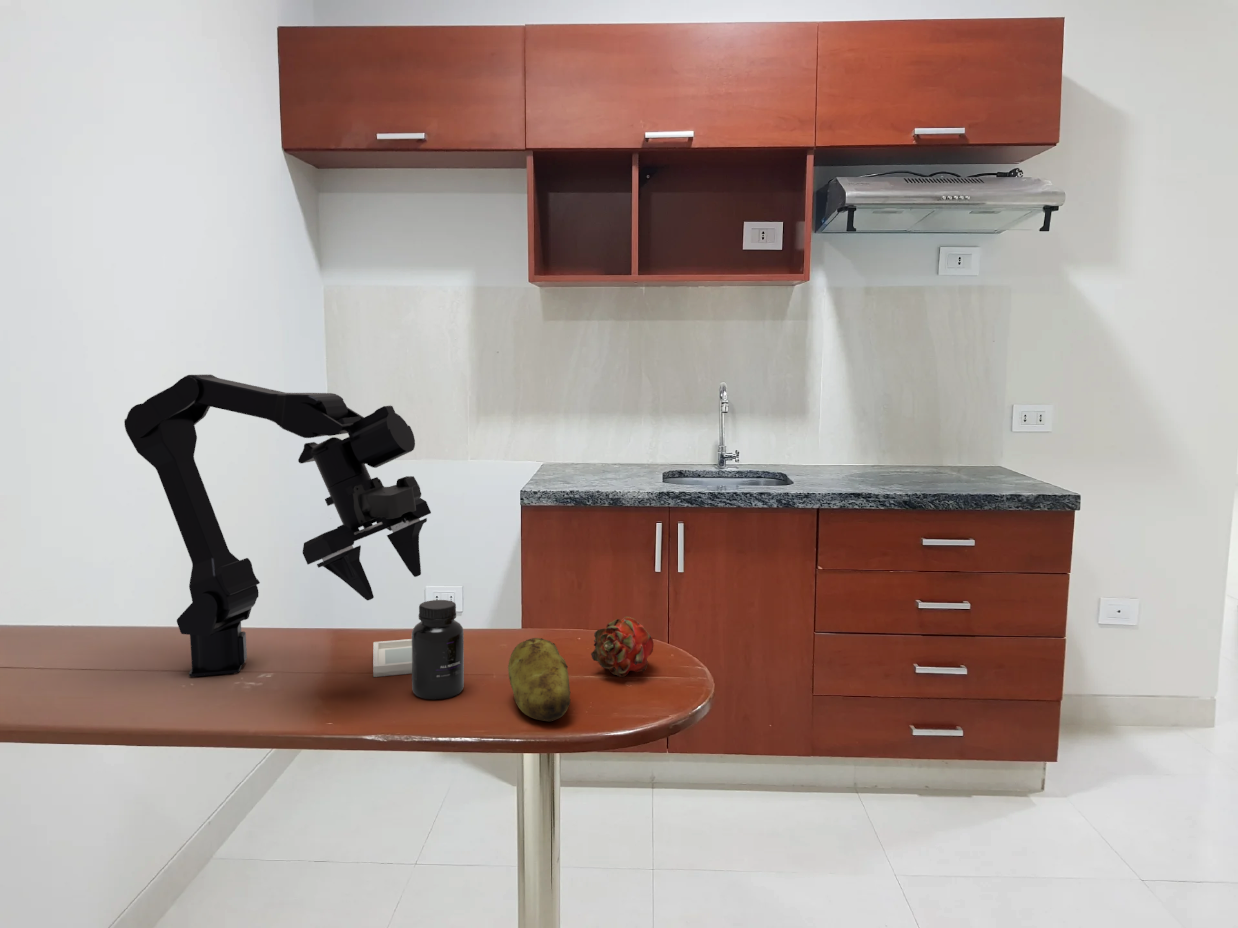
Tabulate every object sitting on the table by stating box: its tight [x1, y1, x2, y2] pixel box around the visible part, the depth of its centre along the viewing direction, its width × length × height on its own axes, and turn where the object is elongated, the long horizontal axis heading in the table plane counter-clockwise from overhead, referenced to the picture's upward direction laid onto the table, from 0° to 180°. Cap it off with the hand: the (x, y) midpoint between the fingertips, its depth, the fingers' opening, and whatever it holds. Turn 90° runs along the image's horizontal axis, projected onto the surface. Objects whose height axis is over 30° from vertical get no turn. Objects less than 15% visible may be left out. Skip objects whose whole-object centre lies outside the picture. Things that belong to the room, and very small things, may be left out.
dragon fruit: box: [590, 616, 655, 678], centre depth 121 cm, size 8×8×12 cm
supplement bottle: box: [411, 599, 465, 700], centre depth 113 cm, size 7×7×12 cm
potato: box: [507, 637, 571, 723], centre depth 108 cm, size 8×13×8 cm, turn 2°
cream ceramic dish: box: [372, 638, 412, 678], centre depth 125 cm, size 11×11×2 cm
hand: (395, 587), depth 114 cm, fingers open, 9 cm apart
